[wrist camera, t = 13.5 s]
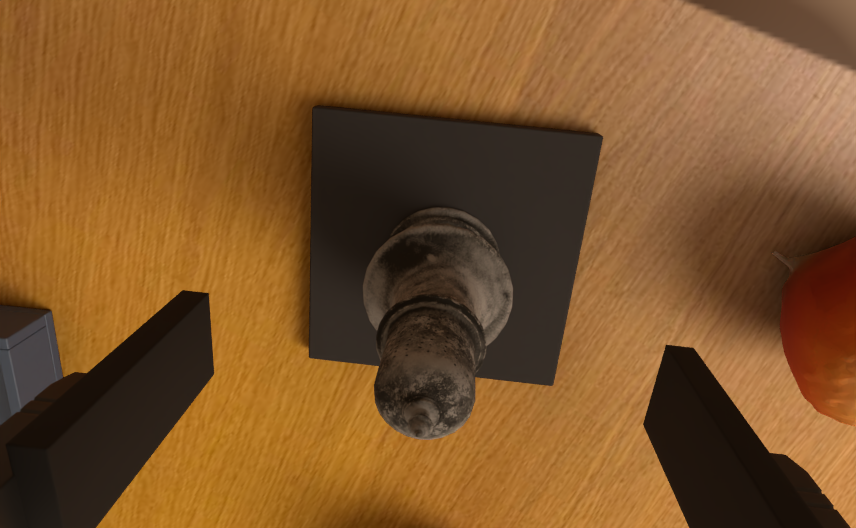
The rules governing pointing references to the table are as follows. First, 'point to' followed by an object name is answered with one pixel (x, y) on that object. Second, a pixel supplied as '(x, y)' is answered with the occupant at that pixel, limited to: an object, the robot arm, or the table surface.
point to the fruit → (822, 328)
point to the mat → (456, 188)
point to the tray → (26, 357)
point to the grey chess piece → (434, 318)
